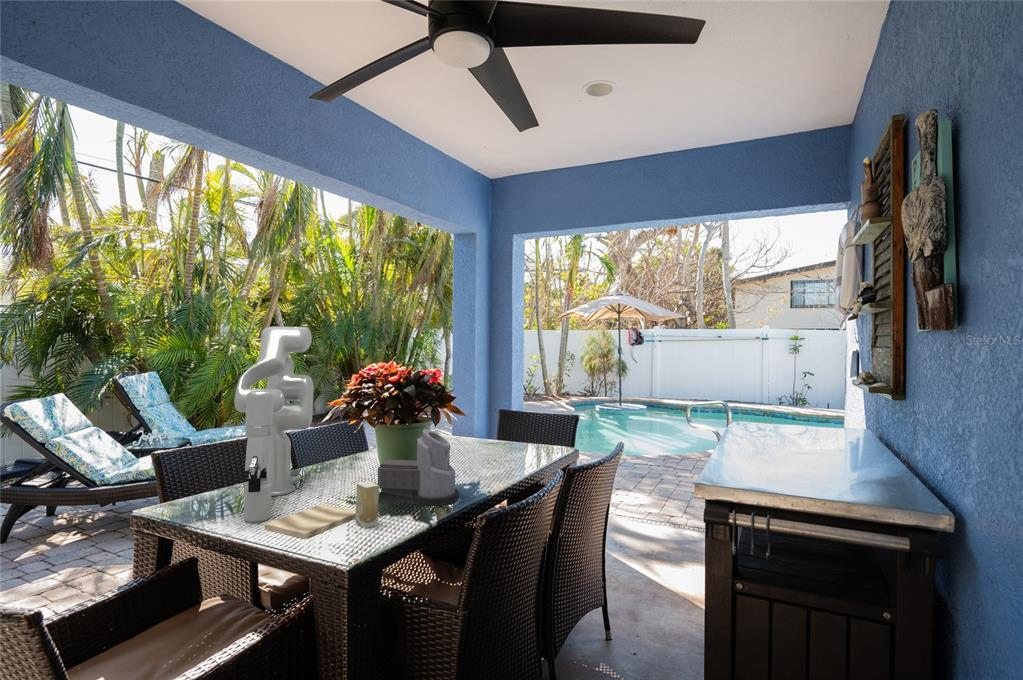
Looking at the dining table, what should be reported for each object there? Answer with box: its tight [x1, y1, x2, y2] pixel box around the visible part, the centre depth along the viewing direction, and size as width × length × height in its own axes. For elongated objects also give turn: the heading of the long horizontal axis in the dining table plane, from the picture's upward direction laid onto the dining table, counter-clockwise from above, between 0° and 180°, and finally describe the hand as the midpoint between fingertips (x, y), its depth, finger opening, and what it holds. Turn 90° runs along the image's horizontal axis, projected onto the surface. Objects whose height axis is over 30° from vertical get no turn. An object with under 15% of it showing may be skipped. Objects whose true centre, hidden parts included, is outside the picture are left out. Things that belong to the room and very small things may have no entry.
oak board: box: [264, 503, 356, 540], centre depth 163 cm, size 22×16×2 cm
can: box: [243, 478, 272, 524], centre depth 165 cm, size 8×8×12 cm
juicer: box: [377, 428, 460, 508], centre depth 188 cm, size 30×16×24 cm, turn 84°
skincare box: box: [355, 480, 380, 529], centre depth 162 cm, size 6×4×12 cm
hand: (257, 488), depth 164 cm, fingers open, 9 cm apart
